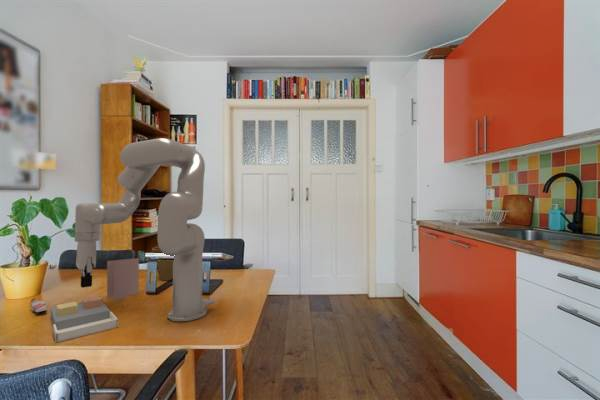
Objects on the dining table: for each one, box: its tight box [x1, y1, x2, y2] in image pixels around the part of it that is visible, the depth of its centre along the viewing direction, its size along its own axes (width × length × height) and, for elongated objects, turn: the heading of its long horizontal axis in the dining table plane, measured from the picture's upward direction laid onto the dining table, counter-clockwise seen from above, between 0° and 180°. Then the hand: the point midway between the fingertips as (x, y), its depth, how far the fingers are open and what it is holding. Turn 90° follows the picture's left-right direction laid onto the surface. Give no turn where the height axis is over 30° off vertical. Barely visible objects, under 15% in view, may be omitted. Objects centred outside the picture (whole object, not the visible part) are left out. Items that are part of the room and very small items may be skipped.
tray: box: [52, 311, 119, 344], centre depth 91 cm, size 15×9×2 cm, turn 134°
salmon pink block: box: [81, 295, 103, 310], centre depth 103 cm, size 5×5×2 cm
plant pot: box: [152, 246, 173, 282], centre depth 151 cm, size 15×15×16 cm
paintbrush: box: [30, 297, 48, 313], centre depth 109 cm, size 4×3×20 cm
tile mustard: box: [56, 301, 78, 317], centre depth 97 cm, size 5×5×2 cm
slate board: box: [50, 301, 111, 330], centre depth 100 cm, size 14×16×3 cm
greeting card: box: [106, 257, 140, 302], centre depth 122 cm, size 11×7×15 cm, turn 125°
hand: (86, 286), depth 109 cm, fingers closed
